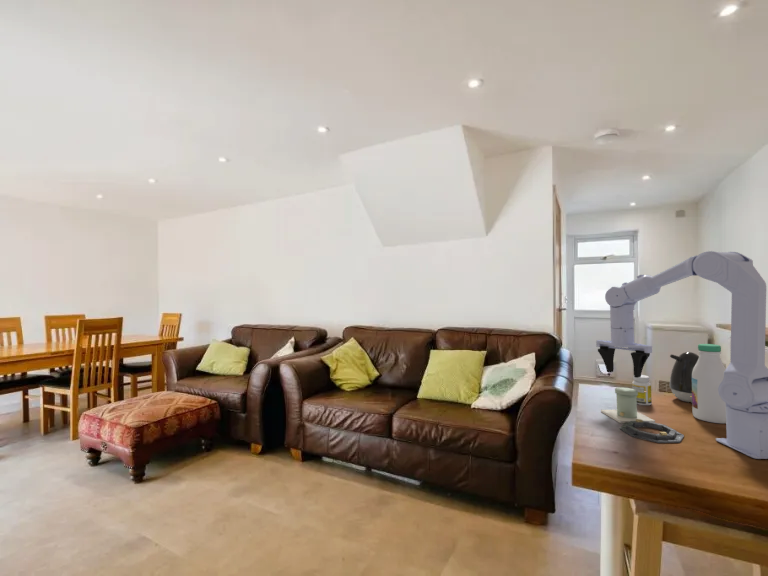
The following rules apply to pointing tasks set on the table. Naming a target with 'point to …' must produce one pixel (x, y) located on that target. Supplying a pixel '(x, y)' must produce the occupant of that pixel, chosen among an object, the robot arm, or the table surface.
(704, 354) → the milk bottle
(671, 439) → the bayonet collar
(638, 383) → the supplement bottle
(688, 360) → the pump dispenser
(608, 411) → the plate
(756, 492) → the table surface
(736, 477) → the table surface
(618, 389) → the pale green jar
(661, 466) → the table surface
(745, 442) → the robot arm
